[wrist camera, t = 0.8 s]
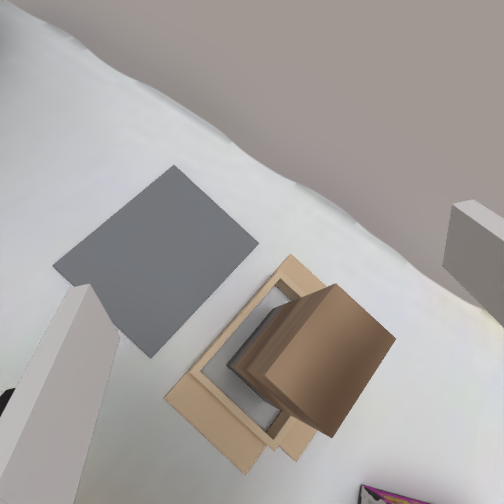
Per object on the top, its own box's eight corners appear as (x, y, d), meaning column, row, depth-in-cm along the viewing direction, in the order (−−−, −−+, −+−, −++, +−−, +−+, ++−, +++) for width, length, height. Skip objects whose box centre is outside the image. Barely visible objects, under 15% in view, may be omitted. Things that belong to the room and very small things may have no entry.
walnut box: (226, 364, 32) (264, 375, 19) (273, 308, 34) (336, 283, 21) (265, 401, 32) (332, 438, 19) (309, 343, 34) (396, 338, 21)
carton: (163, 397, 30) (163, 401, 28) (290, 254, 36) (298, 247, 34) (270, 498, 30) (278, 510, 27) (378, 336, 36) (393, 335, 34)
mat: (53, 266, 31) (52, 265, 31) (174, 166, 36) (174, 164, 36) (150, 358, 31) (150, 358, 30) (258, 244, 36) (259, 243, 35)
